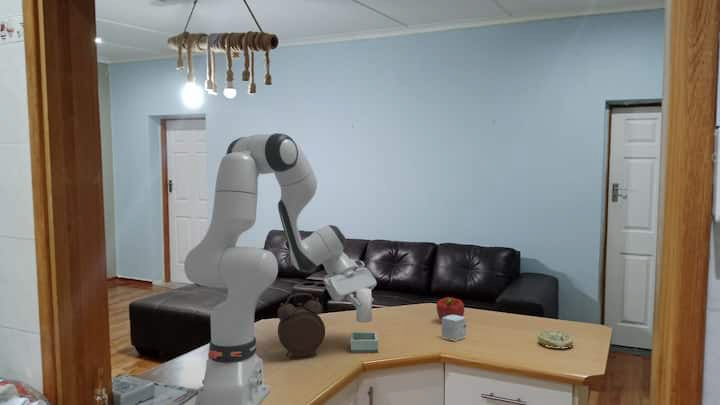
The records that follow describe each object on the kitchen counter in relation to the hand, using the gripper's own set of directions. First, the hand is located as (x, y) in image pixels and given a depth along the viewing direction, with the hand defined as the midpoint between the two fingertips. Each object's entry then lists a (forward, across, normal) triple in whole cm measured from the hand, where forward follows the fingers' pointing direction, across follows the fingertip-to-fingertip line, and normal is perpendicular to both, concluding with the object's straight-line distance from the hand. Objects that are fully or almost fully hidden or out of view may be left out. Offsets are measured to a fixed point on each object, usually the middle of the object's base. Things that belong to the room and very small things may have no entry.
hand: (365, 304), depth 170 cm
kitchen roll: (+3, 0, +4) cm, 5 cm away
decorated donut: (+45, +40, -23) cm, 64 cm away
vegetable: (+16, +42, +5) cm, 45 cm away
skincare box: (+23, +26, -2) cm, 35 cm away
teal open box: (+10, 0, +11) cm, 15 cm away
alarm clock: (+2, -17, +19) cm, 26 cm away
